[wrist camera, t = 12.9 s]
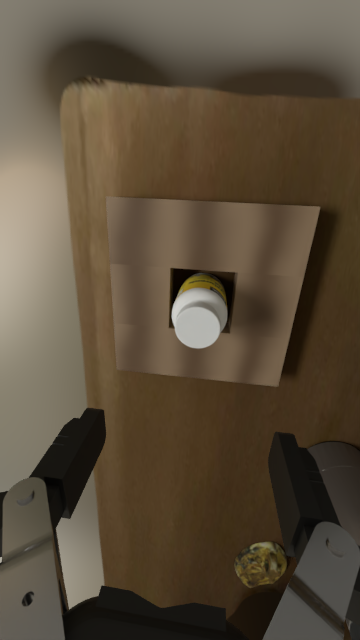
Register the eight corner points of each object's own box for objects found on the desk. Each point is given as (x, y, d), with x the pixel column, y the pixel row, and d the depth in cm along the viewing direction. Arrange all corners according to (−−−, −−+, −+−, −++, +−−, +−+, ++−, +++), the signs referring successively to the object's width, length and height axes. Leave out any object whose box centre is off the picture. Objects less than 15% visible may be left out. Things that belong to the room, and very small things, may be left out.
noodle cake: (270, 577, 57) (293, 539, 50) (277, 609, 52) (304, 571, 46) (227, 574, 56) (245, 534, 50) (231, 605, 52) (251, 566, 46)
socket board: (309, 206, 27) (320, 206, 24) (273, 372, 35) (278, 386, 32) (116, 197, 29) (105, 196, 26) (123, 357, 37) (116, 369, 34)
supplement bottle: (233, 282, 31) (241, 315, 22) (213, 321, 33) (212, 365, 24) (190, 264, 31) (180, 289, 22) (173, 304, 33) (157, 342, 24)
